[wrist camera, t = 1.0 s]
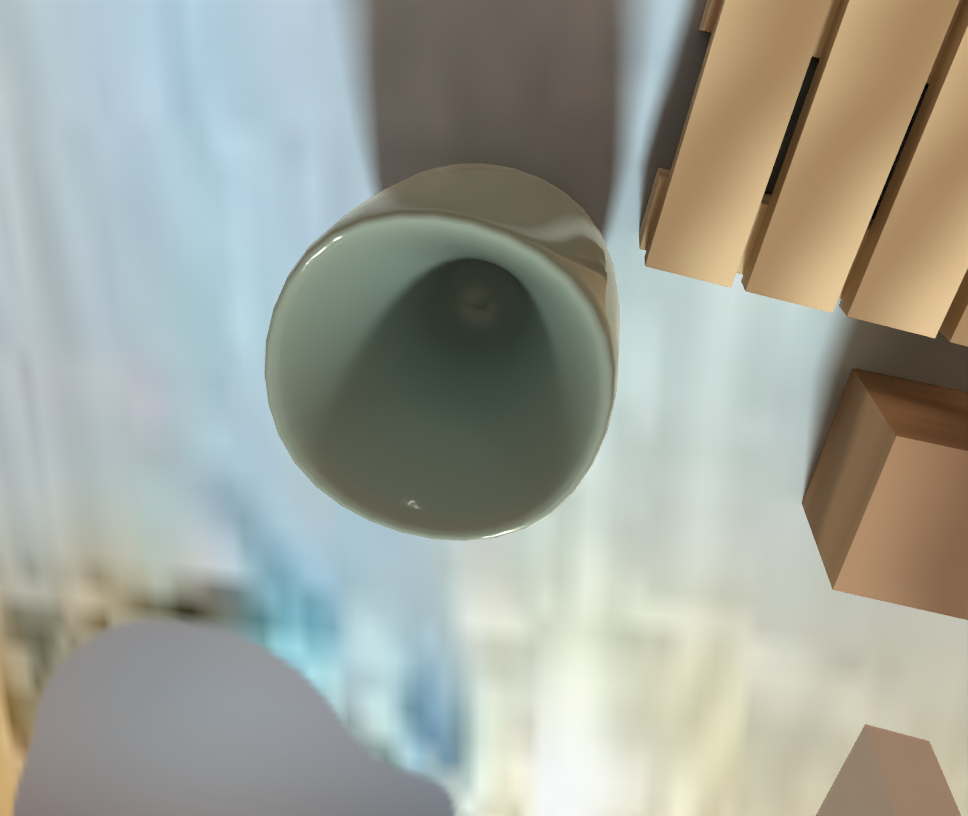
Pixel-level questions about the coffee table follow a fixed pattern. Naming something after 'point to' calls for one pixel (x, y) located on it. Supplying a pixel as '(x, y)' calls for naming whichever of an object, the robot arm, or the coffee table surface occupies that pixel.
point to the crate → (895, 494)
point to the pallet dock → (826, 161)
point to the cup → (449, 353)
